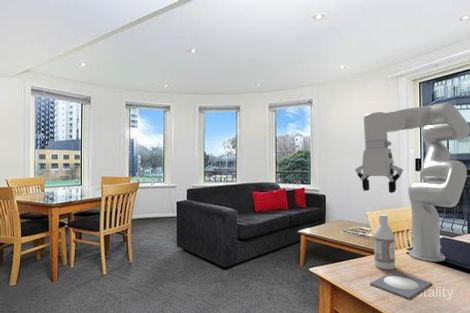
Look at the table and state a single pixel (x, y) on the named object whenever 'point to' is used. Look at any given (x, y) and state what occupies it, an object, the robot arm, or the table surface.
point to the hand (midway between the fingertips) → (378, 191)
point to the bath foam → (384, 245)
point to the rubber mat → (401, 284)
